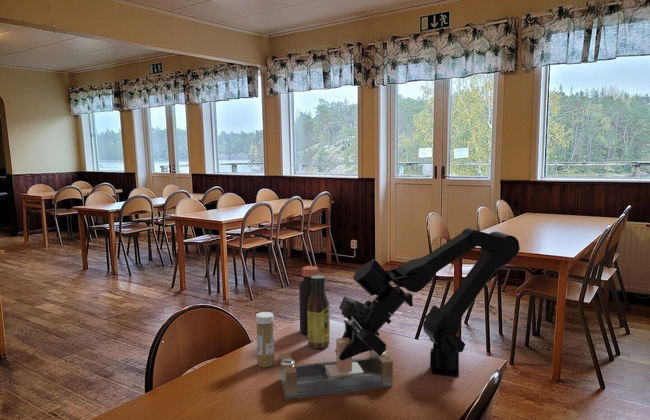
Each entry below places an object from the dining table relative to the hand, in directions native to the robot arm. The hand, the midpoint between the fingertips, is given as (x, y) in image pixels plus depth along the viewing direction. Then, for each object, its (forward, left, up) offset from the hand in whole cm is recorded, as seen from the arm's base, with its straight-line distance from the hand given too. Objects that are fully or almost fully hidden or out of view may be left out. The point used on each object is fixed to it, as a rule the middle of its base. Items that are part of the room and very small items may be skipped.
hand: (338, 356), depth 114 cm
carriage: (-1, -1, -5) cm, 5 cm away
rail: (0, 0, -7) cm, 7 cm away
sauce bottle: (+11, -20, -7) cm, 24 cm away
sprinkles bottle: (+21, -5, -7) cm, 22 cm away
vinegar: (+16, -29, -7) cm, 34 cm away
